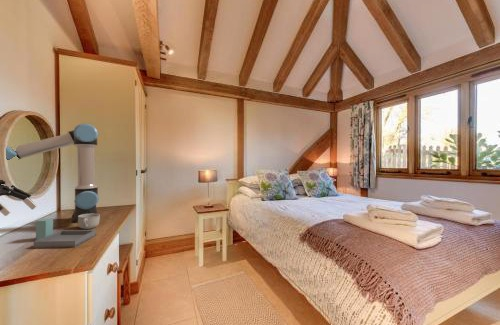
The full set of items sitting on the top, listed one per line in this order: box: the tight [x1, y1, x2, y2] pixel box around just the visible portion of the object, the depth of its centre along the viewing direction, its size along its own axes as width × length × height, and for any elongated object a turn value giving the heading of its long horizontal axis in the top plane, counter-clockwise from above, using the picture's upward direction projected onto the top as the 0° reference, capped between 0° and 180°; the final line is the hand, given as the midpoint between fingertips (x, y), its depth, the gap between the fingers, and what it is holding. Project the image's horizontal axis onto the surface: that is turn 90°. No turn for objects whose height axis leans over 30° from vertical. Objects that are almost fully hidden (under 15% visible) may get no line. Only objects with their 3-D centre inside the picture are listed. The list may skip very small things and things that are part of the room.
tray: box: [33, 229, 97, 249], centre depth 105 cm, size 16×18×3 cm
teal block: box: [35, 218, 54, 241], centre depth 108 cm, size 4×4×10 cm
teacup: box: [77, 213, 101, 230], centre depth 125 cm, size 14×11×8 cm
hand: (22, 210), depth 107 cm, fingers open, 13 cm apart
